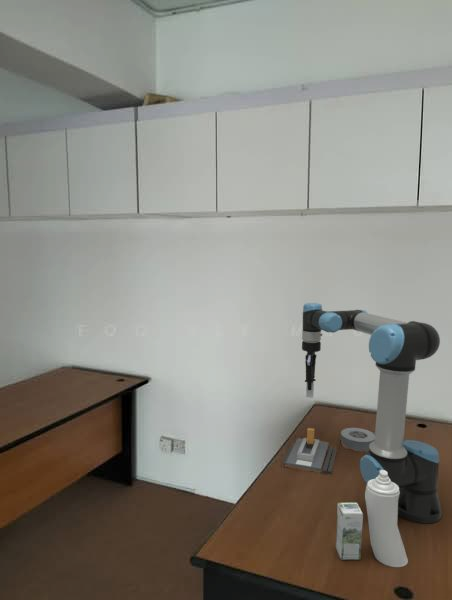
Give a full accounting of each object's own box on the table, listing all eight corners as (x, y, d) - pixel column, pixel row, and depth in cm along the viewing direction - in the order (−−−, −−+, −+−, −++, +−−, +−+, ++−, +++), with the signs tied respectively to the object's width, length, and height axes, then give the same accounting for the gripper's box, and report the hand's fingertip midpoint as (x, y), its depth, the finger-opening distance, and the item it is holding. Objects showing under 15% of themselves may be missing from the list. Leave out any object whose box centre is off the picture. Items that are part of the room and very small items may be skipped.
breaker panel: (331, 475, 179) (331, 464, 179) (281, 466, 186) (281, 456, 185) (337, 448, 204) (338, 438, 203) (294, 441, 210) (294, 432, 210)
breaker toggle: (313, 449, 198) (313, 431, 197) (306, 448, 198) (307, 430, 198) (314, 446, 201) (314, 428, 200) (307, 445, 202) (308, 427, 201)
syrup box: (354, 547, 136) (356, 501, 134) (361, 561, 130) (363, 512, 128) (335, 547, 136) (337, 501, 134) (341, 561, 130) (342, 512, 128)
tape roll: (382, 449, 203) (383, 438, 203) (354, 454, 198) (354, 443, 197) (360, 436, 218) (361, 425, 217) (333, 440, 212) (333, 430, 211)
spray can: (378, 571, 126) (382, 485, 123) (356, 547, 136) (360, 466, 133) (414, 564, 129) (419, 479, 126) (390, 541, 139) (394, 462, 136)
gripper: (318, 344, 181) (316, 402, 184) (322, 338, 193) (321, 393, 196) (299, 343, 184) (297, 400, 186) (304, 337, 196) (303, 391, 198)
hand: (309, 396), depth 191 cm, fingers closed
